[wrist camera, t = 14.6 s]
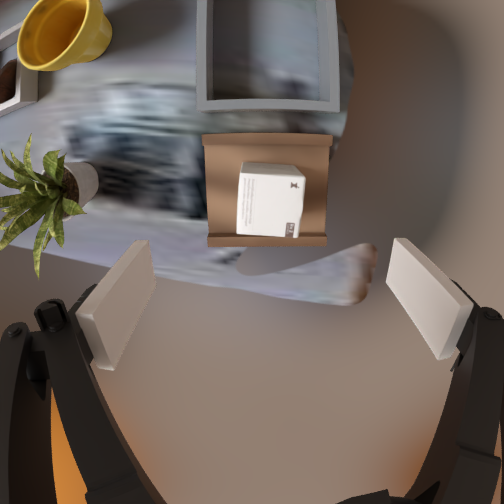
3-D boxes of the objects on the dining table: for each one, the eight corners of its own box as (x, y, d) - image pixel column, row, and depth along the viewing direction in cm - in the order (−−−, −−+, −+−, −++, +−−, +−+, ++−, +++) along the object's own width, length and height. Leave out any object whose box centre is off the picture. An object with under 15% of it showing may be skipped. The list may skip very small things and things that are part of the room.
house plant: (60, 106, 29) (-29, 114, 14) (143, 137, 32) (65, 153, 17) (37, 200, 35) (-39, 244, 20) (110, 237, 37) (44, 303, 22)
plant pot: (122, 69, 28) (82, 56, 19) (58, 83, 28) (11, 80, 19) (131, -1, 24) (97, -29, 15) (66, 18, 23) (24, 2, 15)
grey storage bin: (206, -34, 22) (200, -53, 17) (320, -33, 22) (329, -51, 17) (204, 113, 31) (196, 111, 26) (327, 113, 30) (339, 112, 26)
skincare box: (241, 161, 32) (238, 170, 25) (295, 165, 32) (307, 175, 25) (239, 212, 34) (235, 235, 28) (290, 215, 35) (299, 239, 28)
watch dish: (-10, 53, 23) (-25, 52, 20) (42, 23, 23) (27, 18, 19) (-13, 123, 29) (-29, 125, 25) (37, 101, 28) (20, 101, 25)
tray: (205, 134, 32) (201, 134, 29) (327, 134, 31) (332, 135, 29) (210, 239, 37) (208, 246, 35) (322, 238, 37) (326, 246, 35)
